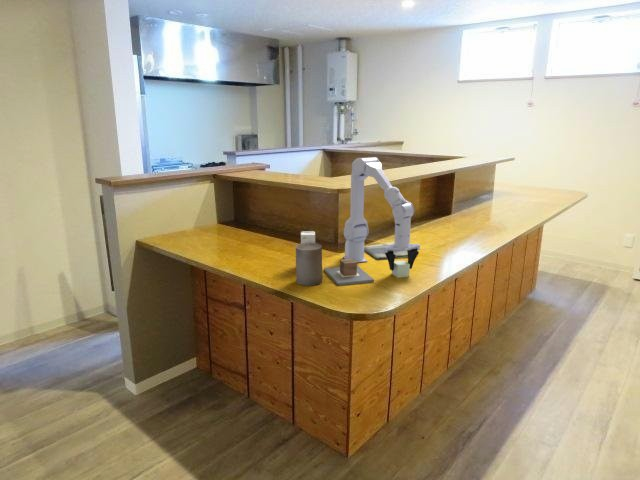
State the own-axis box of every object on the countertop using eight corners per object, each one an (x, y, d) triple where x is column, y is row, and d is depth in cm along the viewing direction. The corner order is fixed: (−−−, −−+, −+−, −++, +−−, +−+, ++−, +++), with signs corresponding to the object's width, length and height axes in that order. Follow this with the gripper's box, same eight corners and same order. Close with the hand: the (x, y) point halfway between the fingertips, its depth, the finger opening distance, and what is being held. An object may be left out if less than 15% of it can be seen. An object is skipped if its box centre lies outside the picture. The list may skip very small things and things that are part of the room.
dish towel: (376, 261, 193) (377, 254, 192) (362, 250, 210) (362, 244, 209) (416, 258, 198) (416, 251, 197) (398, 247, 215) (399, 241, 214)
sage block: (391, 273, 176) (392, 261, 175) (403, 272, 178) (403, 260, 176) (397, 277, 172) (397, 265, 170) (409, 276, 173) (409, 264, 172)
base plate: (323, 270, 180) (323, 267, 179) (357, 267, 183) (357, 265, 183) (337, 285, 163) (337, 282, 163) (374, 282, 166) (374, 279, 166)
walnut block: (339, 272, 174) (340, 259, 173) (352, 270, 176) (352, 258, 174) (344, 276, 170) (344, 263, 168) (356, 274, 171) (357, 262, 170)
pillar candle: (321, 277, 172) (321, 238, 168) (322, 285, 162) (322, 245, 159) (296, 277, 172) (295, 239, 168) (295, 286, 162) (294, 246, 158)
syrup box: (314, 264, 187) (314, 230, 183) (315, 269, 181) (315, 234, 177) (301, 264, 187) (300, 230, 183) (300, 269, 181) (300, 234, 177)
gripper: (389, 238, 165) (387, 273, 168) (424, 235, 169) (422, 270, 172) (381, 234, 171) (380, 268, 175) (415, 231, 175) (414, 265, 179)
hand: (400, 268), depth 174 cm, fingers open, 7 cm apart
